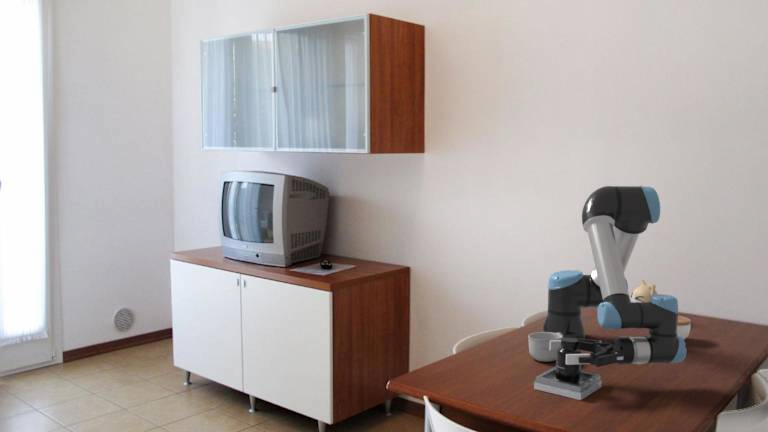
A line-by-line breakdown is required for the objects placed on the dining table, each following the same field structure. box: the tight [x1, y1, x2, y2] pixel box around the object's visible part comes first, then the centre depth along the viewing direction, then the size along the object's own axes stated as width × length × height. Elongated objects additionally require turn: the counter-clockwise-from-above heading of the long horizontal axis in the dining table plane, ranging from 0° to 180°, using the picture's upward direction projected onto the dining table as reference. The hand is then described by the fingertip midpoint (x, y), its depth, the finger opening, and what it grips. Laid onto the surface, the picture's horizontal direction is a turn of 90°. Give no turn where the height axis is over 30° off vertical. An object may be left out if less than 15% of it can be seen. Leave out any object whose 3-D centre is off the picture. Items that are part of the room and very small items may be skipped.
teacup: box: [527, 331, 564, 363], centre depth 234 cm, size 14×11×8 cm
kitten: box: [630, 279, 658, 303], centre depth 286 cm, size 15×10×15 cm
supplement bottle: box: [555, 338, 582, 384], centre depth 206 cm, size 7×7×12 cm
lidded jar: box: [677, 315, 692, 341], centre depth 257 cm, size 11×11×9 cm
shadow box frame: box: [533, 365, 603, 401], centre depth 207 cm, size 14×14×4 cm
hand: (557, 352), depth 205 cm, fingers open, 13 cm apart
